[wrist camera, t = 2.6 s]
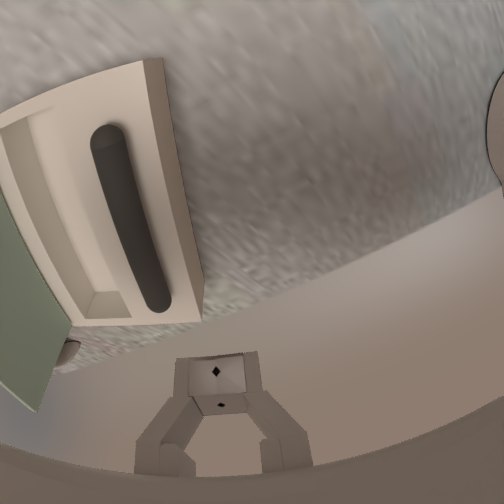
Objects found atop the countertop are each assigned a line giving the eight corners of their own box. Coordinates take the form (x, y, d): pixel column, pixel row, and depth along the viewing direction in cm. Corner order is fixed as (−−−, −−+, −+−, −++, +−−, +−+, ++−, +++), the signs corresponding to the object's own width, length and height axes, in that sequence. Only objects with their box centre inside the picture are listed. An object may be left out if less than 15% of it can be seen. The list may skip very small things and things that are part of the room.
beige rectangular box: (162, 57, 17) (142, 60, 13) (204, 280, 29) (201, 321, 25) (16, 106, 16) (-21, 125, 13) (87, 290, 29) (73, 326, 25)
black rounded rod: (125, 117, 14) (113, 126, 13) (175, 298, 23) (173, 317, 22) (94, 125, 14) (80, 135, 13) (152, 300, 23) (148, 319, 22)
